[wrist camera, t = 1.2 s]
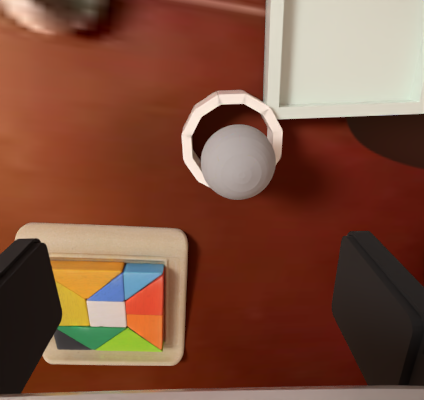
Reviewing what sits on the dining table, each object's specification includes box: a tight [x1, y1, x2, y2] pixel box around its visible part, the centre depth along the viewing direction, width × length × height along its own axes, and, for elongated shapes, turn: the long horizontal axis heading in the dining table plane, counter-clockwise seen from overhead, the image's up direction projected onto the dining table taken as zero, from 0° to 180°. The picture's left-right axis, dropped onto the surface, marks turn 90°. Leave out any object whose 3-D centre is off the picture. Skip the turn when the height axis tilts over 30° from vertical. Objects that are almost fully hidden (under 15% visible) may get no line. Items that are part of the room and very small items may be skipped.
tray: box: [263, 0, 424, 119], centre depth 27 cm, size 14×14×2 cm
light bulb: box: [201, 125, 276, 200], centre depth 26 cm, size 6×5×10 cm
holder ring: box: [182, 90, 283, 187], centre depth 30 cm, size 9×9×3 cm
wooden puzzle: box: [15, 223, 188, 366], centre depth 37 cm, size 18×19×4 cm
